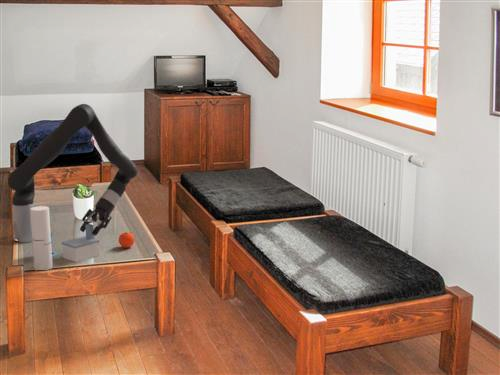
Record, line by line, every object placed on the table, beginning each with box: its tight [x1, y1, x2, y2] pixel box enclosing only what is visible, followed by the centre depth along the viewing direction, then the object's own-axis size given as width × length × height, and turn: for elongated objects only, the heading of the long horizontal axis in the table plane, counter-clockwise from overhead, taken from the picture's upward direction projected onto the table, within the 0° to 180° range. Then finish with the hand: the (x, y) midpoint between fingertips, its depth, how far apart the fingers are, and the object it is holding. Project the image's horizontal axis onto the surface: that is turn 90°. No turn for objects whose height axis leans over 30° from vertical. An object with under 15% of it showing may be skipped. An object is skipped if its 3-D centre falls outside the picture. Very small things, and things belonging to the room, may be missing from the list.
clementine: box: [118, 231, 135, 249], centre depth 333 cm, size 8×7×7 cm
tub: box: [61, 241, 100, 263], centre depth 319 cm, size 12×9×6 cm
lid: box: [61, 223, 100, 248], centre depth 318 cm, size 12×9×8 cm
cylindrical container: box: [30, 205, 54, 271], centre depth 302 cm, size 7×7×25 cm
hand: (87, 232), depth 320 cm, fingers open, 8 cm apart
